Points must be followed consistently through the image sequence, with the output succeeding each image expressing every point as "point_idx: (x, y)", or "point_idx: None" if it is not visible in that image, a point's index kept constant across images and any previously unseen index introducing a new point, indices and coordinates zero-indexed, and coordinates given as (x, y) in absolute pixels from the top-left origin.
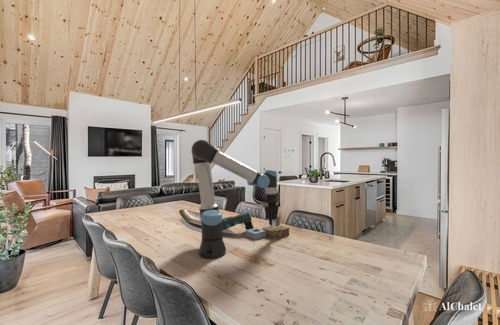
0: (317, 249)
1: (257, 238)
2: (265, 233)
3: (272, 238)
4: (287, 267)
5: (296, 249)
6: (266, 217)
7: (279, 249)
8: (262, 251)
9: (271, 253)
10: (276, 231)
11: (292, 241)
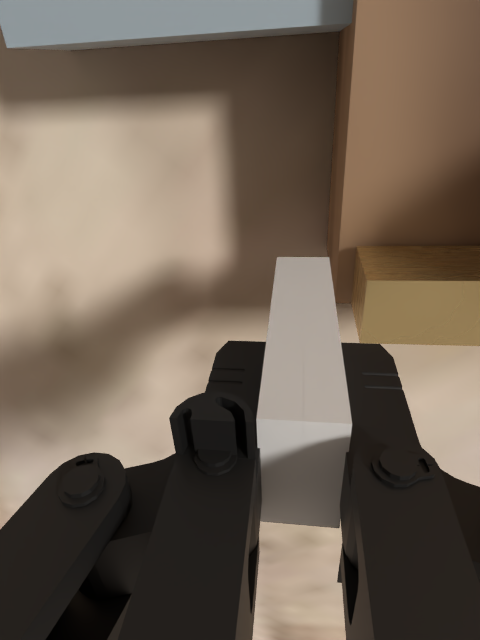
0: None
1: (115, 46)
2: (316, 29)
3: (329, 203)
4: None
5: (272, 522)
6: (18, 521)
7: (157, 455)
8: (2, 401)
9: (54, 461)
10: None
11: (424, 419)
